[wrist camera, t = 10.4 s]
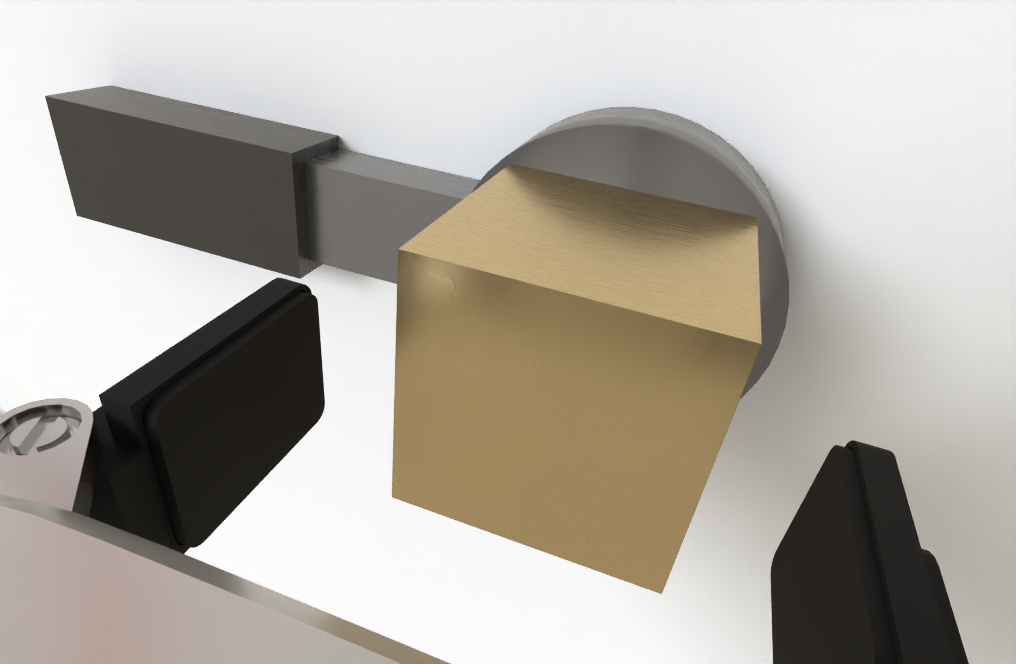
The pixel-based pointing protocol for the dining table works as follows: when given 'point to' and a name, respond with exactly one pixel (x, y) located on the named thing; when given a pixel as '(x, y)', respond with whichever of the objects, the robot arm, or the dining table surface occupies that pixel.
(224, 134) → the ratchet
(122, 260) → the dining table surface
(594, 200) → the brushed gold cube
